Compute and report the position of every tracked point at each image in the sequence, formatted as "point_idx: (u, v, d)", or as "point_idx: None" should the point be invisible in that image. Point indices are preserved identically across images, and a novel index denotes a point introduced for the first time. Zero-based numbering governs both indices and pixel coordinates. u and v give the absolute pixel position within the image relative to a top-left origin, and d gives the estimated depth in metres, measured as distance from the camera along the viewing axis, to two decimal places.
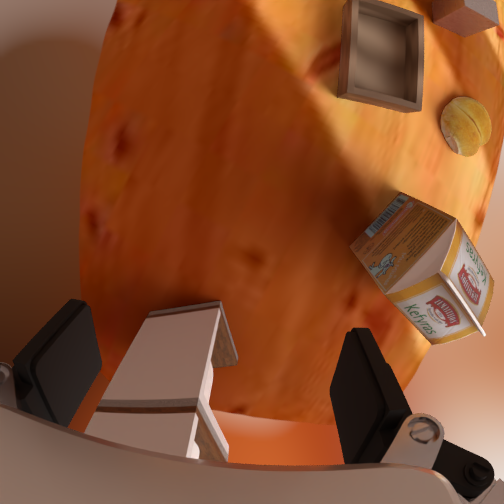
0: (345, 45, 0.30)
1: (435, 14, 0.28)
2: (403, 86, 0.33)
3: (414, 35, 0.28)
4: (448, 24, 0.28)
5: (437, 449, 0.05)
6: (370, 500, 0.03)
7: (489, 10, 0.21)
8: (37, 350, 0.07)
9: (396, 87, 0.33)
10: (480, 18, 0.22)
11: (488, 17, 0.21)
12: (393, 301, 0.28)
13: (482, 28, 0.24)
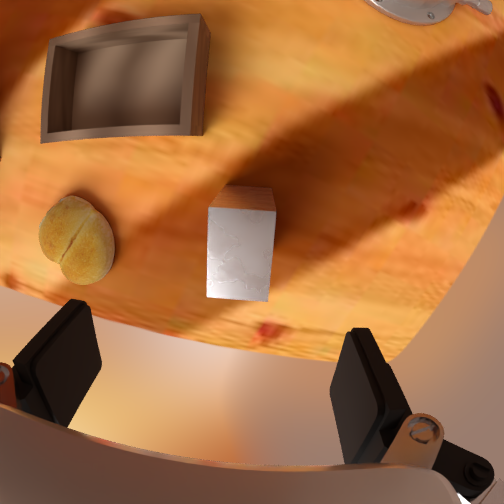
0: None
1: (239, 187, 0.26)
2: (94, 128, 0.24)
3: None
4: None
5: (437, 449, 0.05)
6: (370, 500, 0.03)
7: (232, 277, 0.20)
8: (37, 350, 0.07)
9: (91, 118, 0.24)
10: None
11: (210, 270, 0.20)
12: None
13: None
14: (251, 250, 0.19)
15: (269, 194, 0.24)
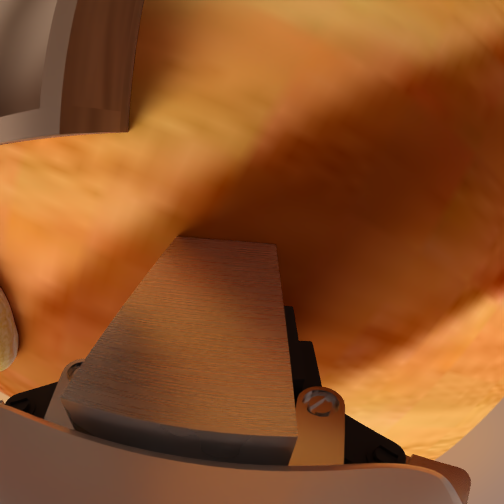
0: None
1: (204, 246, 0.12)
2: None
3: None
4: None
5: (342, 418, 0.06)
6: (370, 500, 0.03)
7: None
8: None
9: None
10: None
11: None
12: None
13: None
14: None
15: (271, 280, 0.09)
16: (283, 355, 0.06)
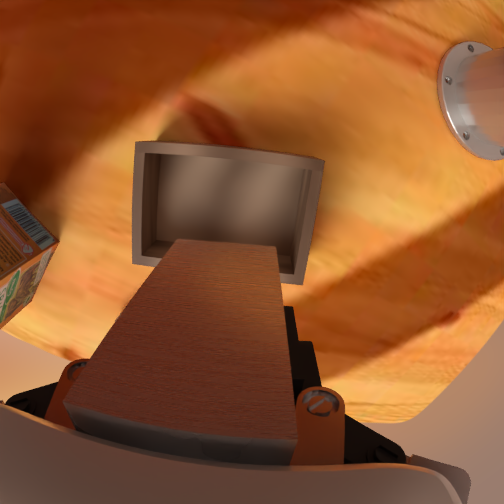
0: (228, 146, 0.23)
1: (205, 248, 0.12)
2: None
3: None
4: None
5: (342, 418, 0.06)
6: (370, 500, 0.03)
7: None
8: None
9: (180, 231, 0.27)
10: None
11: None
12: None
13: None
14: None
15: (271, 283, 0.10)
16: (283, 358, 0.06)
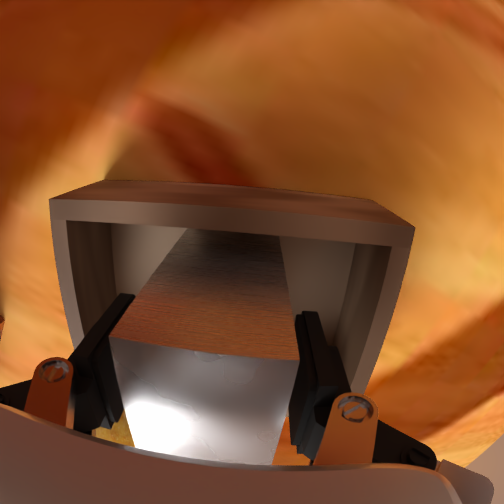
0: (225, 193, 0.12)
1: (216, 231, 0.14)
2: None
3: None
4: None
5: (375, 425, 0.06)
6: (370, 500, 0.03)
7: None
8: (97, 342, 0.08)
9: None
10: None
11: (141, 444, 0.07)
12: None
13: None
14: (228, 429, 0.07)
15: (275, 257, 0.11)
16: (286, 308, 0.08)
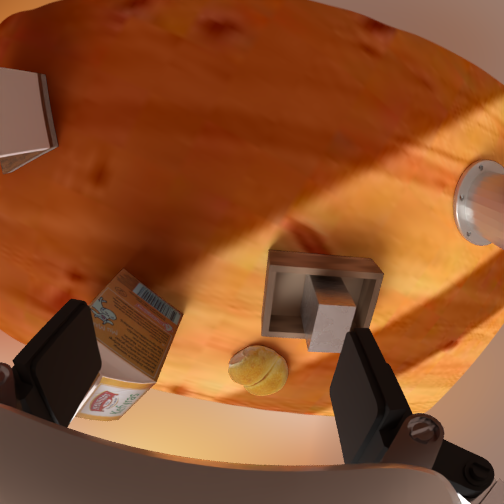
0: (324, 261, 0.37)
1: None
2: (288, 314, 0.41)
3: None
4: (306, 287, 0.38)
5: (437, 449, 0.05)
6: (370, 500, 0.03)
7: (325, 340, 0.32)
8: (37, 350, 0.07)
9: (285, 308, 0.41)
10: (311, 326, 0.33)
11: (313, 337, 0.32)
12: None
13: (305, 330, 0.36)
14: (339, 326, 0.32)
15: (341, 282, 0.36)
16: (350, 297, 0.33)
